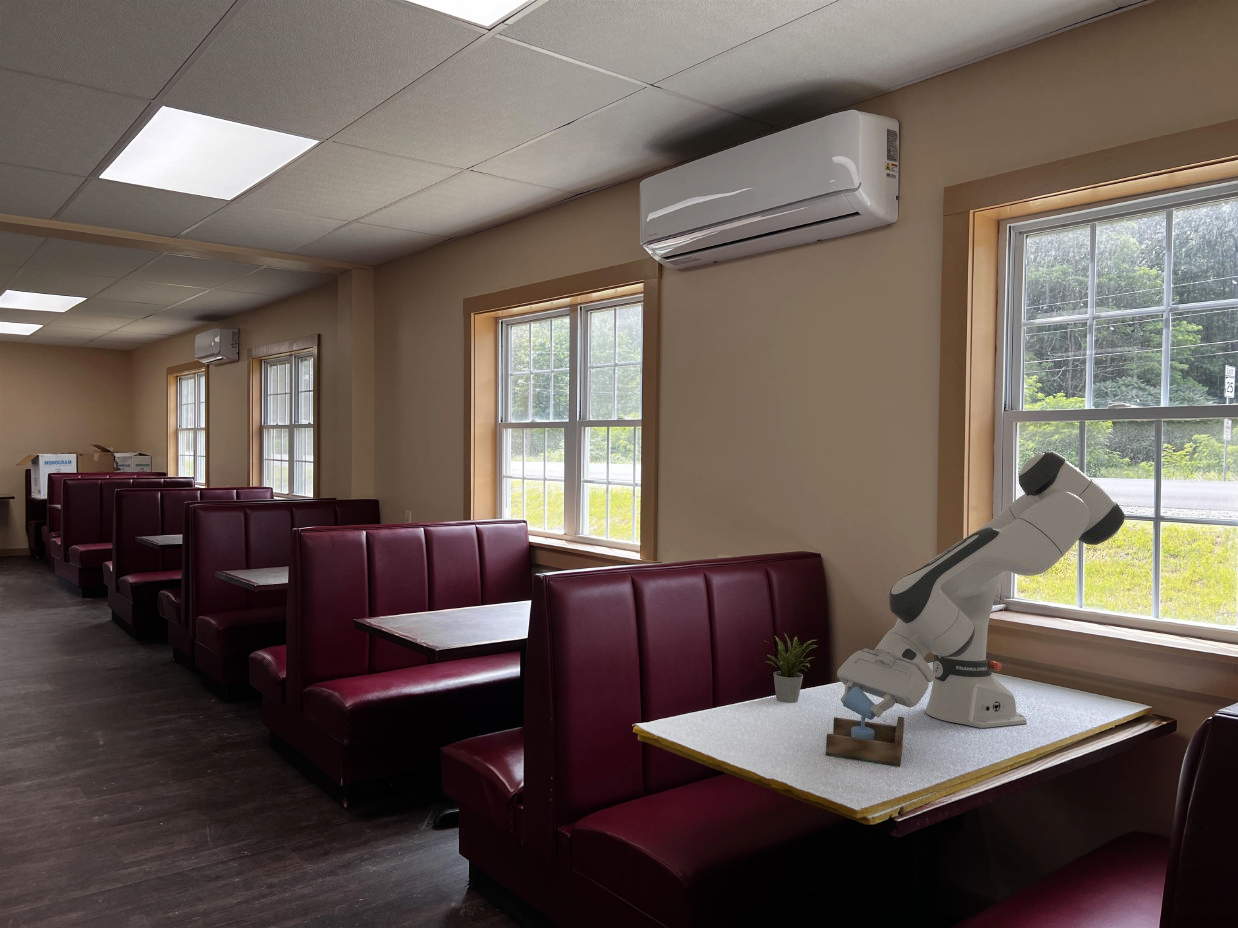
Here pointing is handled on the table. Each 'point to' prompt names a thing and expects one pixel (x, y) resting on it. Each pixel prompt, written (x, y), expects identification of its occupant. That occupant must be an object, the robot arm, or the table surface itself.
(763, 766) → the table surface
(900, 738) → the wooden display tray
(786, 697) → the house plant
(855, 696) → the spotlight
